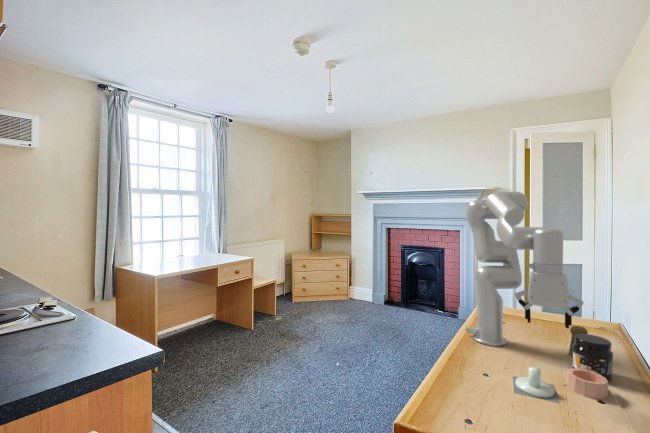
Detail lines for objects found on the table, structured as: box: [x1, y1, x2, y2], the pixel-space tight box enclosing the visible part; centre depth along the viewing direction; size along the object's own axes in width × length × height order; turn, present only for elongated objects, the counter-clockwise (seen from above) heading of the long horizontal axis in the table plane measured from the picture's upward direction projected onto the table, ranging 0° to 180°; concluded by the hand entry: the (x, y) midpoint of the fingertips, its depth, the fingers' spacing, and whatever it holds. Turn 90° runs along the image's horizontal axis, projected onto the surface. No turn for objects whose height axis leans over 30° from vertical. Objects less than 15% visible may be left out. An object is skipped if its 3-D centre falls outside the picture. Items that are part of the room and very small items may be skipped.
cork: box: [568, 325, 589, 358], centre depth 122 cm, size 6×6×11 cm
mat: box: [512, 375, 560, 404], centre depth 98 cm, size 11×11×1 cm
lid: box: [515, 366, 555, 398], centre depth 98 cm, size 10×10×6 cm
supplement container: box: [571, 333, 614, 382], centre depth 108 cm, size 10×10×12 cm
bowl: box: [566, 367, 609, 400], centre depth 98 cm, size 9×9×5 cm
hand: (547, 324), depth 99 cm, fingers open, 9 cm apart
